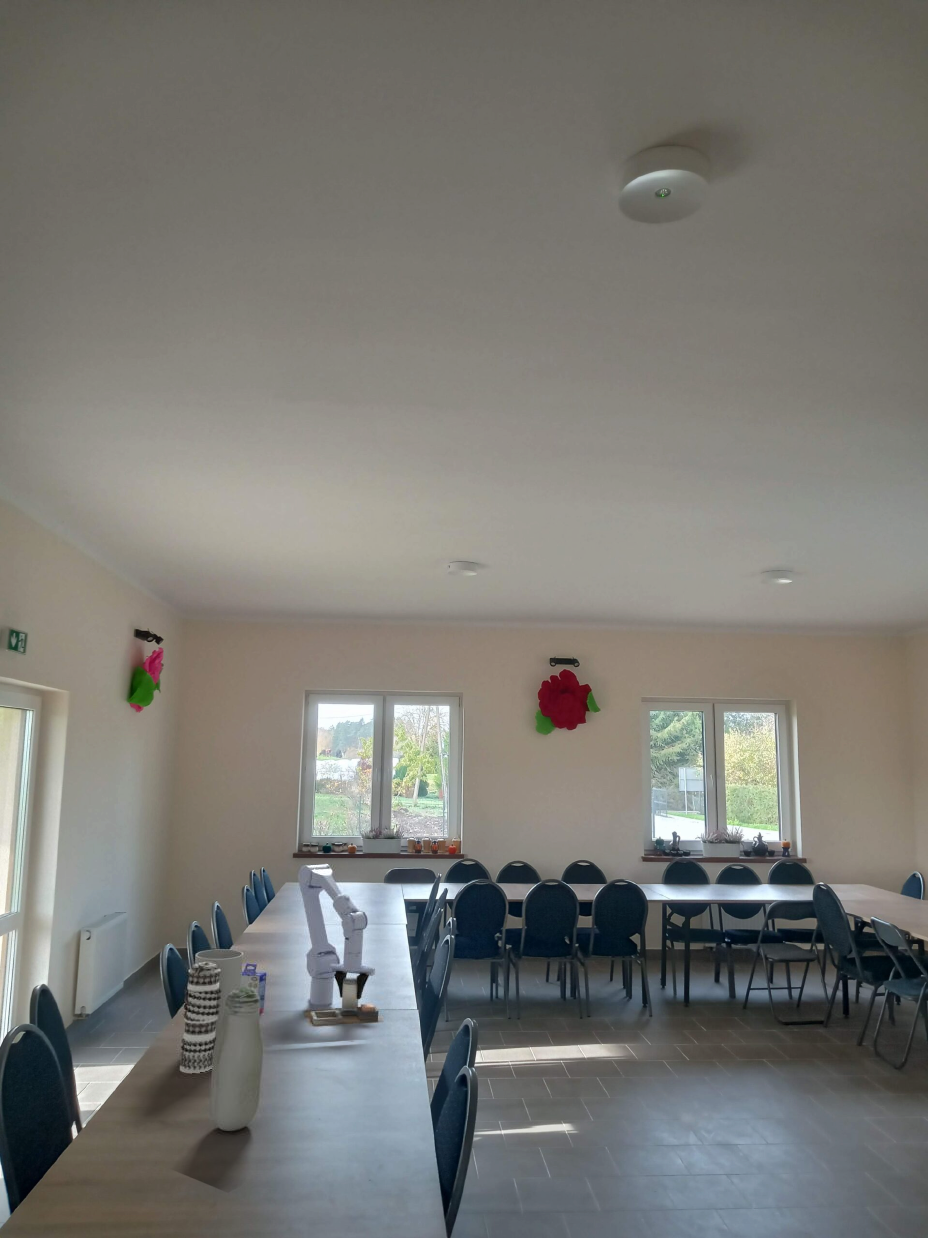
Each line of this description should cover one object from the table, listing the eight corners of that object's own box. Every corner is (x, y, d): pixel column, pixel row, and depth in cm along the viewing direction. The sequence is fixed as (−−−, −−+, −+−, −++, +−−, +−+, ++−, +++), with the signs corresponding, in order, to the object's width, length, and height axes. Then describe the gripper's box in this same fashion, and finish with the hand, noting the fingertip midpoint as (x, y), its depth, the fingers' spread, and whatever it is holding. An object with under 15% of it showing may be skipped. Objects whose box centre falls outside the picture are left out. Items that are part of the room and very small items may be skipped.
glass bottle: (232, 1142, 174) (242, 997, 179) (198, 1130, 180) (209, 989, 185) (267, 1126, 183) (276, 988, 188) (233, 1114, 188) (243, 980, 193)
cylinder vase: (245, 1049, 231) (252, 952, 235) (217, 1063, 220) (225, 961, 224) (206, 1043, 235) (213, 947, 240) (177, 1056, 224) (185, 956, 228)
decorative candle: (181, 1076, 210) (190, 969, 214) (174, 1064, 218) (183, 961, 222) (218, 1071, 214) (226, 966, 218) (211, 1060, 222) (219, 959, 226)
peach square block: (360, 1014, 261) (360, 1004, 262) (371, 1014, 262) (372, 1004, 263) (362, 1018, 258) (363, 1007, 258) (374, 1017, 259) (374, 1007, 259)
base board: (302, 1014, 265) (303, 1002, 265) (372, 1010, 271) (373, 999, 272) (309, 1029, 250) (310, 1017, 250) (383, 1025, 256) (383, 1013, 257)
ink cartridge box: (264, 1013, 264) (268, 964, 267) (257, 1018, 259) (260, 968, 261) (235, 1011, 266) (238, 962, 269) (227, 1015, 261) (230, 966, 263)
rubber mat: (335, 1009, 268) (335, 1008, 268) (360, 1008, 270) (360, 1007, 270) (339, 1016, 260) (339, 1015, 260) (365, 1015, 263) (365, 1014, 263)
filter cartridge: (339, 1008, 264) (340, 981, 265) (345, 1003, 269) (347, 977, 270) (354, 1010, 262) (355, 982, 263) (360, 1005, 267) (361, 978, 268)
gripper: (379, 951, 270) (376, 996, 268) (336, 947, 274) (334, 992, 272) (371, 956, 264) (369, 1002, 261) (327, 952, 267) (325, 998, 265)
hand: (350, 997), depth 266 cm, fingers closed on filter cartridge, 5 cm apart
